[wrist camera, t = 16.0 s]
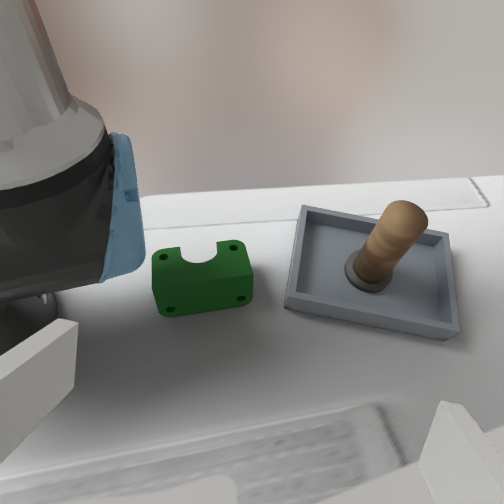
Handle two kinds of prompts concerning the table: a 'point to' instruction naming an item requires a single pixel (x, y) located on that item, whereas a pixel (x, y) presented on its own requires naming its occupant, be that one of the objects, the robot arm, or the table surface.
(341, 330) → the table surface
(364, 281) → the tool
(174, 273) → the clamp
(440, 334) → the tray
